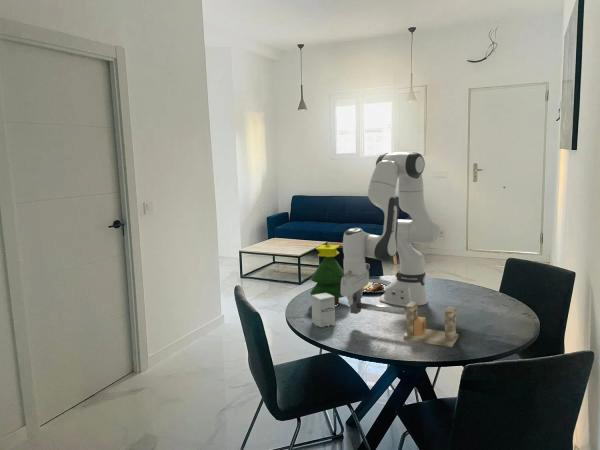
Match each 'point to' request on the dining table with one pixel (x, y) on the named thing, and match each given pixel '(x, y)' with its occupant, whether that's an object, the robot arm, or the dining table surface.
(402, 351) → the dining table surface
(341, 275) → the decorative tree
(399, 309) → the shaft
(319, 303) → the supplement box
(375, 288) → the food plate
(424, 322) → the spacer
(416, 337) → the shaft stand
